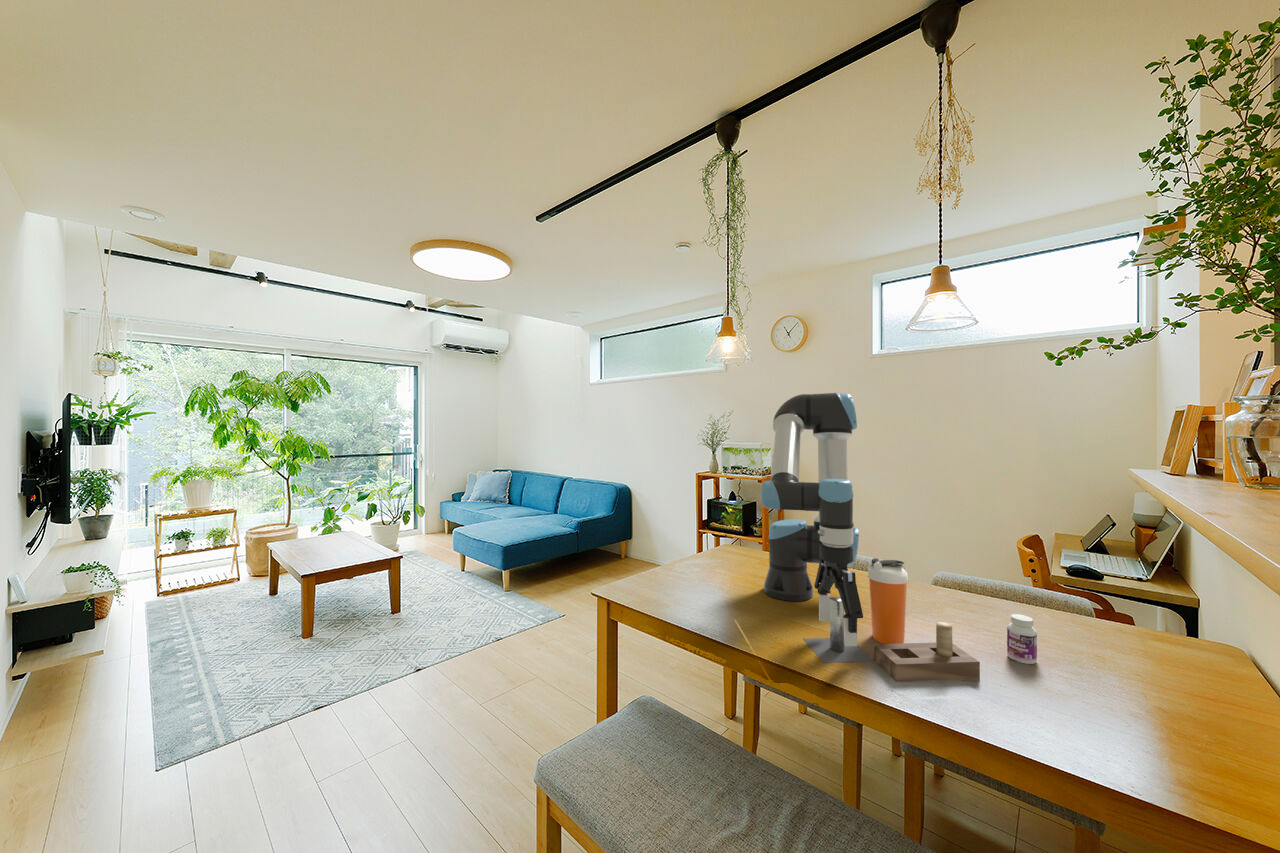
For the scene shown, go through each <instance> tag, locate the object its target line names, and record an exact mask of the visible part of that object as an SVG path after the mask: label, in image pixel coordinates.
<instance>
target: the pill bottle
mask: <svg viewBox="0 0 1280 853" xmlns="http://www.w3.org/2000/svg"><path fill="white" fill-rule="evenodd" d="M1033 626H1034V618H1032V617H1029V616H1027V615H1023V614H1019V613H1018V614H1017V613H1013V614H1010V623H1008V624H1007V627H1006V629H1007V630H1006V635H1007V636H1006V653H1007V656H1008V657H1009V658H1010V659H1012V660H1013V661H1016V662H1017V663H1022V664H1026V665H1033V664H1036V663H1037V661H1038V654H1037V653H1038V632H1037V630H1036V628H1034V627H1033Z"/></svg>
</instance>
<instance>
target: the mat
mask: <svg viewBox="0 0 1280 853" xmlns="http://www.w3.org/2000/svg"><path fill="white" fill-rule="evenodd" d="M803 641H804V642H805V643H806V644H807V645H808V646H809V648H810V649H811V650H812V651H813V652H814V654H815V655H816V656H817V657H818V659H819V660H820V661H821V663H823V664H826V663H827V664H829V663H830V664H831V663H861V662H863V663H864V662H875V661H874V658H873V657H871V656H870V654H868V653H867V652H866V651H865V650H864V649H863V648H862V647H861V646H860V645H858V644H857V646H845V645H844V652H840V653H839V652H834V651H832V650H831V649H830V637H818V638H817V637H815V638H813V637H812V638H811V637H810V638H803Z"/></svg>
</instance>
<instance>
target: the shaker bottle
mask: <svg viewBox="0 0 1280 853" xmlns="http://www.w3.org/2000/svg"><path fill="white" fill-rule="evenodd" d="M903 565H905V562H904V561H902V560H896V559H882V560H880V559H879V558H875V557H874V558H872V559H871V565H870V567H869V568H868V569H867V572H868V573H867V577H868V580H869V581H868V582H869V583H868V584H869V598H870V614H871V615H870V616H871V632H872V638H873V639H874V640H875V641H876V642H878V643H879V644H902V643H905V636H906V635H905V632H906V630H905V629H906V614H907V613H906V610H907V608H906V606H907V588H908V587H907V585H908V582H909V580H908V578H909V574H908V573H907V571H906V570H905V569H904V568H903Z"/></svg>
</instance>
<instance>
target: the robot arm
mask: <svg viewBox="0 0 1280 853" xmlns="http://www.w3.org/2000/svg"><path fill="white" fill-rule="evenodd" d="M857 422H858V421H857V413H856V407H855V402H854V400H853V397H852V395H851V394H849V393H842V392H841V393H839V392H829V393H828V392H827V393H826V392H825V393H812V394H811V393H804V394H802V393H801V394H797V395H795V396H793V397H791V398H789V399H787V400H786V401H785V402H784V403H782V404H781V405H780V406H779V408H778V409H777V411H776V412H775V414H774V417H773V421H772V429H773V431H774V432H775V435H774V445H773V454H772V463H771V474H770V480H765V481H763V482H762V483H761V490H760V492H761V494H760V495H761V498H760V499H761V505H762V507H763V508H765V509H771V510H778V511H779V510H783V511H787V510H788V511H804V512H805V511H806V512H818V515H817V516H816V517H815V518H814V519H813V525H811V524H810V525H809V524H808V523H807V521H806V520H804V519H799V518H792V519H791V518H790V519H781V520H777V521H774V522H773V523H771V525H770V526H769V529H768V530H769V531H768V532H769V533H768V542H769V544H768V547H769V553H768V555H769V559H768V560H769V561H768V563H769V568H768V570H767V574H766V576H765V580H764V583H763V591H764V593H765V594H766V595H767V596H769V597H771V598H773V599H778V600H781V601H789V602H790V601H791V602H802V601H806V600H807V601H808V600H810V599H812V597H813V596H814V589H816V590H817V594H818V621H819V622H830V598H831V597H832V596H831V593H832V592H831V589H832V587H833V585H834V588H835V589H837V591H838V594H839V598H841V601H842V604H843V607H844V616H843V617H844V645H845V646H857V645H858V619H863V618H864V613H863V609H862V604H861V600H860V594H859V590H858V586H857V581H856V580H857V579H856V572H855V571H849V570H848V566H849V567H851V566H853V565H854V564H855V562H856V560H857V557H858V556H857V555H858V550H859V537H860V530H859V529H858V528H857V527H855V526H854V521H853V520H854V519H853V518H854V517H853V515H854V513H853V512H854V511H853V510H854V504H853V503H854V501H853V500H854V491H853V483H852V481H850V480H849V479H848V439H849V438H850V437H852V435H853V430H854V431H855V430H856V429H857V428H858V423H857ZM804 430H811V431H812V436H813V437H814V438H815V439H816V440H817V447H818V448H817V452H818V453H817V460H818V461H817V462H818V463H817V464H818V466H817V467H818V470H817V471H818V478H817V479H818V482H805V481H800V464H801V463H800V462H801V461H800V460H801V456H800V455H801V435H802V434H803V432H804ZM808 563H810V564H818V568H817V574H816V578H815V582H814V586H813V584H812V581H811V578H810V575H809V572H808Z"/></svg>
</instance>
